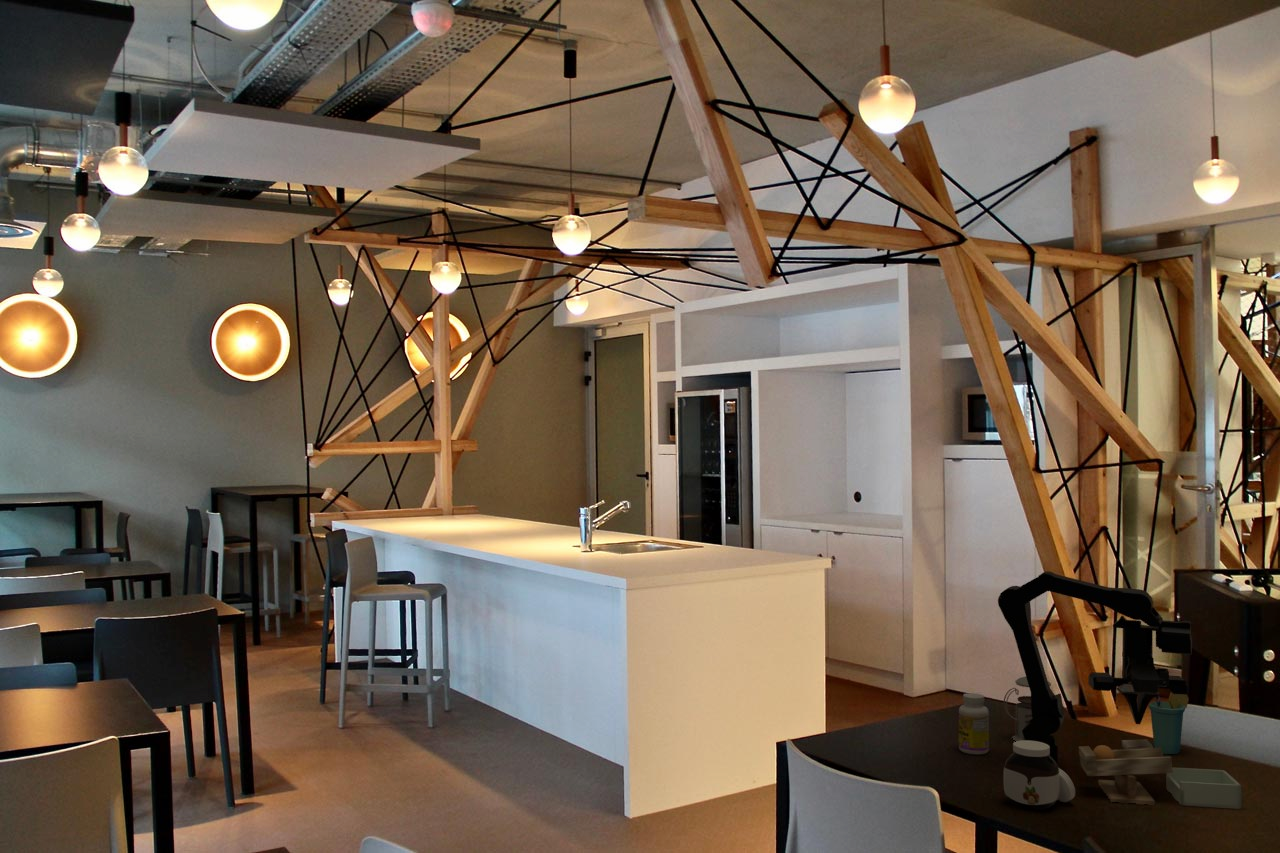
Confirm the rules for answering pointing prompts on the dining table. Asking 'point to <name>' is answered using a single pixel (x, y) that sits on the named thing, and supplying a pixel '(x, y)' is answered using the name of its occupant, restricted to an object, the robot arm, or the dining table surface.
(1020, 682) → the french press
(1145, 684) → the robot arm
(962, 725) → the supplement bottle
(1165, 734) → the cup
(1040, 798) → the spread jar
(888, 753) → the dining table surface
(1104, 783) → the stand
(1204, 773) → the tray
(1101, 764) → the lever
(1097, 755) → the ball
